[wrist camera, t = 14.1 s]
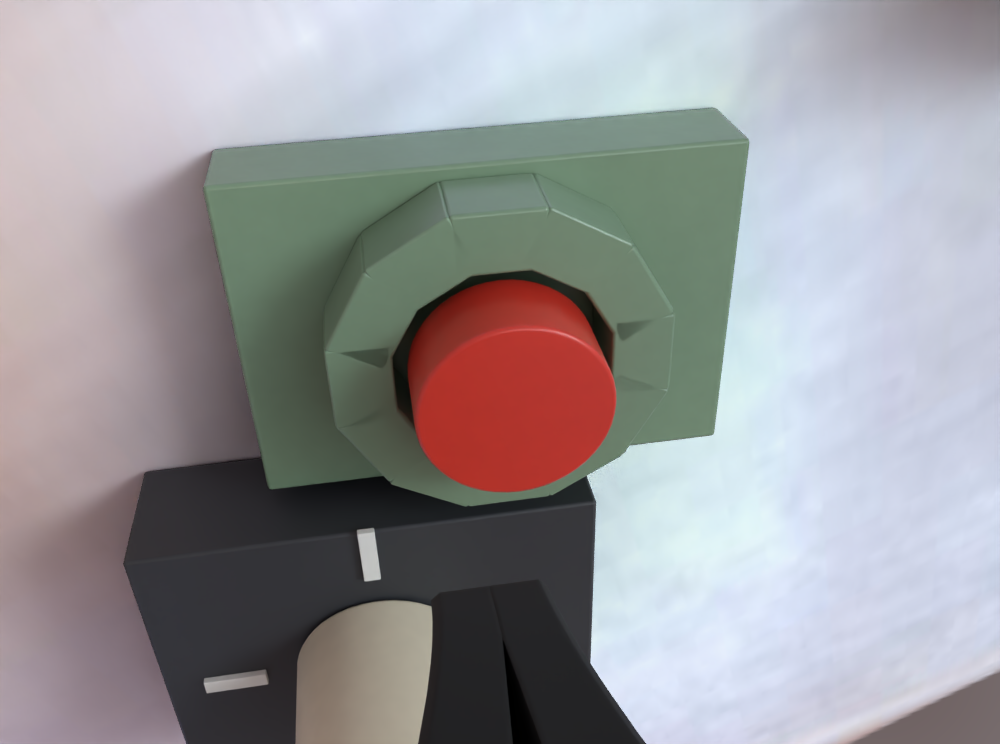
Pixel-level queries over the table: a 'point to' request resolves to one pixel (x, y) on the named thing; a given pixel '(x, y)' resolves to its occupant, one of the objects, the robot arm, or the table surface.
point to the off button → (509, 387)
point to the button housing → (473, 275)
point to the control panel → (319, 576)
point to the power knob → (365, 675)
